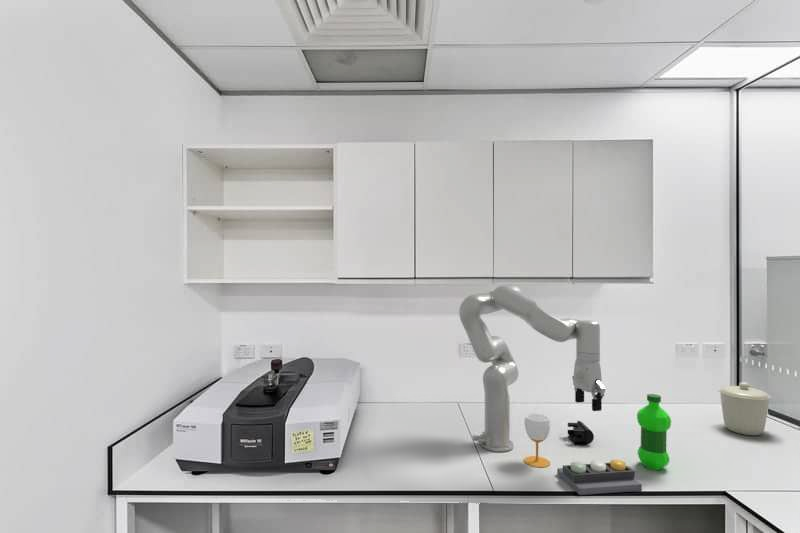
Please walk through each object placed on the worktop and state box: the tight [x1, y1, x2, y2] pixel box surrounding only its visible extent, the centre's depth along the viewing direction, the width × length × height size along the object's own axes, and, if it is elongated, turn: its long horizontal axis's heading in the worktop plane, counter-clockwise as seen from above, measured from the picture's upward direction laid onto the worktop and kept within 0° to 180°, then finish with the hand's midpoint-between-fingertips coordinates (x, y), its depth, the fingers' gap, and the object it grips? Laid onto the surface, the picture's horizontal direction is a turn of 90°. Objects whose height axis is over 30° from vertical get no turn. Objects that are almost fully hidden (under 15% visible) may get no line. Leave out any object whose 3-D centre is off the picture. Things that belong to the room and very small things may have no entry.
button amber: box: [609, 459, 627, 471], centre depth 150 cm, size 5×5×2 cm
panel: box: [556, 462, 643, 496], centre depth 149 cm, size 21×14×4 cm, turn 99°
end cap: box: [567, 420, 595, 447], centre depth 184 cm, size 10×7×7 cm
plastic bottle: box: [636, 393, 672, 471], centre depth 161 cm, size 10×10×25 cm
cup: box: [523, 413, 551, 468], centre depth 164 cm, size 9×9×16 cm
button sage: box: [570, 461, 586, 474], centre depth 148 cm, size 5×5×2 cm
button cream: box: [590, 460, 606, 473], centre depth 149 cm, size 5×5×2 cm
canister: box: [718, 381, 772, 436], centre depth 196 cm, size 18×18×21 cm
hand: (588, 406), depth 158 cm, fingers open, 9 cm apart
